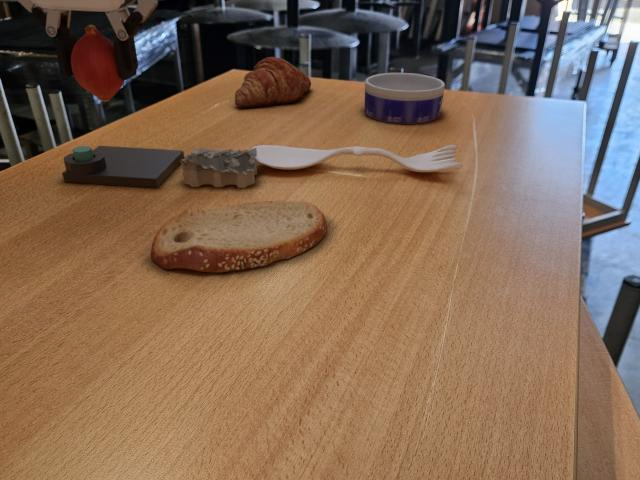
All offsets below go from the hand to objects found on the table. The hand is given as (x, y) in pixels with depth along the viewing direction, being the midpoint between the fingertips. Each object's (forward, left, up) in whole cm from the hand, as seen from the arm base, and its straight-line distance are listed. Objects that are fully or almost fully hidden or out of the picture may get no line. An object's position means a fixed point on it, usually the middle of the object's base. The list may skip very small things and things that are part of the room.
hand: (100, 73), depth 65 cm
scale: (-6, +15, -17) cm, 23 cm away
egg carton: (+9, +14, -17) cm, 24 cm away
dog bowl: (+35, +53, -17) cm, 65 cm away
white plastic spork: (+28, +20, -17) cm, 39 cm away
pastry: (+8, +59, -17) cm, 62 cm away
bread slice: (+17, -5, -17) cm, 25 cm away
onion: (0, 0, -3) cm, 3 cm away
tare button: (-11, +11, -14) cm, 21 cm away
